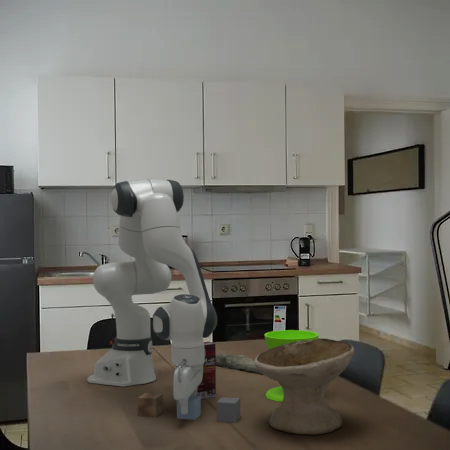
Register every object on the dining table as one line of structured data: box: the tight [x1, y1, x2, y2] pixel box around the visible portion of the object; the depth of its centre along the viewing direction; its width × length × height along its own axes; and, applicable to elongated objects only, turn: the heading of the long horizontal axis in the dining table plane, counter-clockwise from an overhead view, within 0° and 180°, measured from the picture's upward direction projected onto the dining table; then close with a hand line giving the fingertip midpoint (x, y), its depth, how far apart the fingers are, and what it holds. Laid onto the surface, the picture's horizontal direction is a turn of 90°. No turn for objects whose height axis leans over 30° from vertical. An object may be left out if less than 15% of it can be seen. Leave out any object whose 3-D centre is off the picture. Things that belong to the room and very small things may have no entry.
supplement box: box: [196, 341, 217, 400], centre depth 197 cm, size 9×5×16 cm, turn 120°
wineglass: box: [263, 329, 320, 403], centre depth 197 cm, size 16×16×18 cm
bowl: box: [254, 337, 355, 436], centre depth 169 cm, size 26×25×20 cm
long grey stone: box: [216, 352, 265, 376], centre depth 235 cm, size 35×5×10 cm
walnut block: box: [137, 392, 164, 418], centre depth 181 cm, size 5×5×5 cm
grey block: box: [216, 396, 241, 423], centre depth 175 cm, size 5×5×5 cm
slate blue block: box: [176, 395, 202, 421], centre depth 178 cm, size 5×5×5 cm
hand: (188, 408), depth 178 cm, fingers open, 8 cm apart
